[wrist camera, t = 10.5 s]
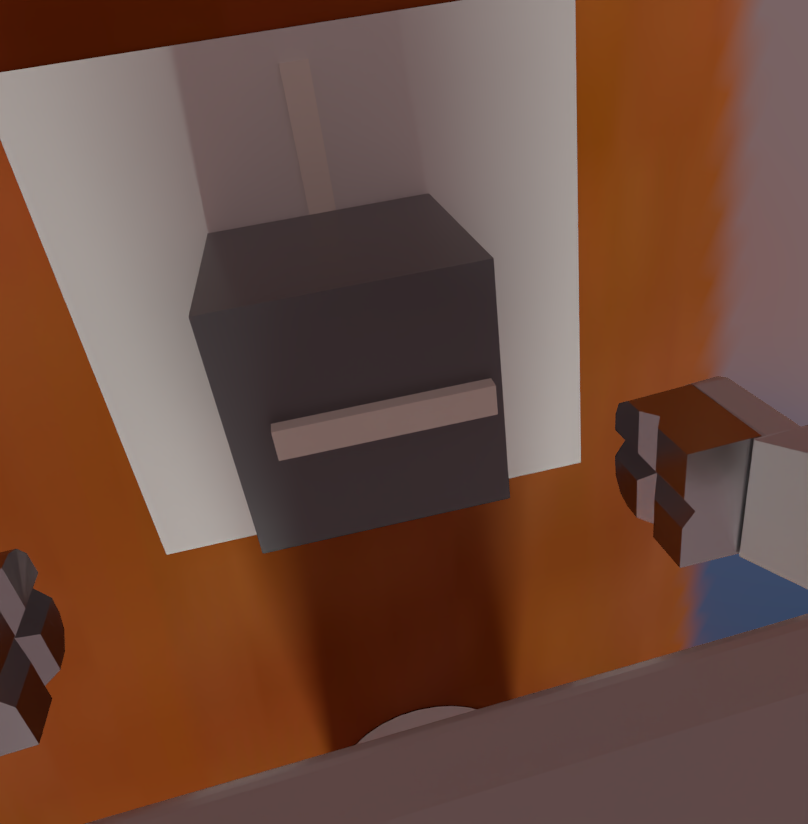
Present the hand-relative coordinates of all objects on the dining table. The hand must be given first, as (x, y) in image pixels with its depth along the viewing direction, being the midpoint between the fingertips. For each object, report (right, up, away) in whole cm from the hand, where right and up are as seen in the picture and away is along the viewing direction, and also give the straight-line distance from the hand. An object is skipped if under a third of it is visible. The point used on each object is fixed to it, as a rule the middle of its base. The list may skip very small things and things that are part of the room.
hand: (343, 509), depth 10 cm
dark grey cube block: (-1, +4, +7) cm, 8 cm away
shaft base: (-1, +4, +8) cm, 9 cm away
